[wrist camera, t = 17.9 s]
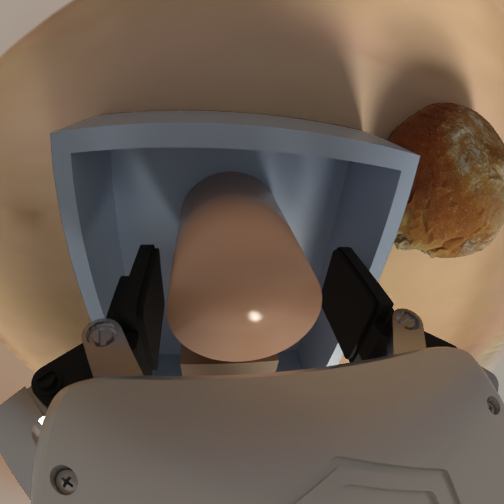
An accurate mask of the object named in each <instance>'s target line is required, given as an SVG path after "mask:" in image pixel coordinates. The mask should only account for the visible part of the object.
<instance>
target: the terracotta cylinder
mask: <svg viewBox="0 0 504 504" xmlns="http://www.w3.org/2000/svg"><path fill="white" fill-rule="evenodd" d="M321 306H322V291H321V287H320V284H319V282H318V280H317V278H316V276H315V274H314V272H313V270H312V268H311V266H310V264H309V262H308V260H307V258H306V256H305V255H304V253H303V251H302V249H301V247H300V245H299V243H298V241H297V239H296V238H295V236H294V234H293V232H292V230H291V228H290V226H289V224H288V223H287V221H286V219H285V217H284V215H283V213H282V212H281V210H280V208H279V206H278V204H277V203H276V201H275V199H274V197H273V195H272V194H271V192H270V190H269V189H268V188H267V187H266V186H265V185H264V184H263V183H262V182H261V181H260V180H258V179H257V178H255V177H253V176H251V175H248V174H245V173H241V172H234V171H228V172H220V173H216V174H213V175H210V176H208V177H206V178H204V179H203V180H201V181H200V182H198V183H197V184H196V185H195V186H194V187H193V188H192V189H191V190H190V191H189V193H188V194H187V196H186V198H185V200H184V202H183V205H182V210H181V215H180V220H179V226H178V232H177V238H176V244H175V250H174V256H173V263H172V270H171V277H170V284H169V292H168V300H167V308H166V312H167V320H168V324H169V326H170V329H171V331H172V332H173V334H174V335H175V337H176V338H177V339H178V340H179V341H180V342H181V343H182V344H183V345H184V346H185V347H187V348H188V349H190V350H191V351H193V352H195V353H197V354H199V355H202V356H204V357H207V358H211V359H215V360H220V361H229V362H243V361H252V360H258V359H262V358H266V357H269V356H272V355H275V354H277V353H279V352H281V351H283V350H285V349H287V348H289V347H291V346H292V345H294V344H295V343H296V342H298V341H299V340H300V339H301V338H303V337H304V336H305V335H306V334H307V333H308V332H309V330H310V329H311V328H312V327H313V325H314V323H315V322H316V320H317V318H318V316H319V313H320V310H321Z"/></svg>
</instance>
